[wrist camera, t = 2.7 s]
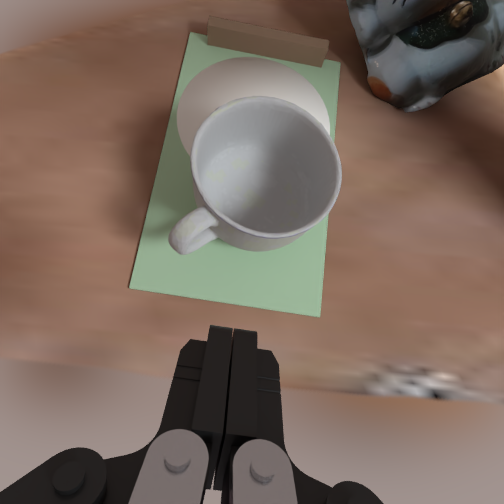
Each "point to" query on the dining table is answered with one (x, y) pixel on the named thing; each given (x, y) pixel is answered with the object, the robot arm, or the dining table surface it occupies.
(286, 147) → the teacup
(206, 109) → the putting green
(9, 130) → the dining table surface
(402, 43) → the lucky cat figurine
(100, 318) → the dining table surface
